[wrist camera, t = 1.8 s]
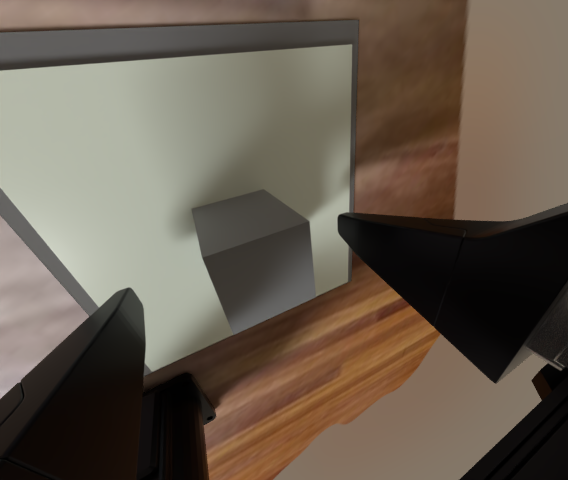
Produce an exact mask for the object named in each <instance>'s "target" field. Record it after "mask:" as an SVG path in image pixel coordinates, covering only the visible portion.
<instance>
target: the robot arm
mask: <svg viewBox="0 0 568 480" xmlns="http://www.w3.org/2000/svg"><path fill="white" fill-rule="evenodd" d="M337 225H338V233H339V235H340V236H341V237H342V239H343V240H344V241H345V242H346V243H347V244H348V245H349V247H350V248H351V249H352V250H353V251H354V252H355V253H356V255H357V256H358V257H359V258H360V259H361V260H363V261H364V262H365V263H366V264H367V265H368V266H369V267H370V268H371V269H372V270H373V271H374V272H375V273H377V274H378V275H379V276H380V277H381V278H382V279H383V280H384V281H385V282H386V283H387V284H388V285H389V286H390V287H392V288H393V289H394V290H395V291H396V292H397V293H398V294H399V295H400V296H401V297H402V298H403V299H404V300H405V301H407V302H408V303H409V304H410V305H411V306H412V307H413V308H414V309H415V310H416V311H417V312H418V313H419V314H420V315H422V316H423V317H424V318H425V319H426V320H427V321H428V322H429V323H430V324H431V325H432V326H433V327H434V328H435V329H436V330H437V331H438V332H440V333H441V334H442V335H443V336H444V337H445V338H446V339H447V340H448V341H449V342H450V343H451V344H452V345H454V346H455V347H456V348H457V349H458V350H459V351H460V352H461V353H462V354H463V355H464V356H465V357H466V358H467V359H468V360H470V361H471V362H472V363H473V364H474V365H475V366H476V367H477V368H478V369H479V370H480V371H481V372H482V373H484V374H485V375H486V376H487V377H488V378H489V379H490V380H491V381H493V382H494V383H498V382H499V381H500V380H501V379H503V378H504V377H505V376H506V375H507V374H509V373H510V372H511V371H512V370H513V369H515V368H516V367H517V366H518V365H520V364H521V363H522V362H523V361H524V360H525V359H527V358H528V357H529V356H530V355H532V354H535V355H536V356H538V357H539V358H541V359H543V360H544V361H546V362H547V363H548V364H547V365H545V366H544V367H543V368H542V369H541V370H540V371H539V372H538V373H537V374H536V376H535V377H534V378H533V379H532V382H533V384H534V386H535V388H536V390H537V392H538V394H539V396H540V398H541V399H542V401H541V402H540V403H539V404H538V405H537V406H536V407H535V408H534V409H533V410H532V411H531V412H530V413H529V414H528V415H527V416H525V418H523V419H522V421H520V422H519V423H518V424H517V425H516V426H515V427H514V428H513V429H512V430H511V431H510V432H509V433H508V434H507V435H506V436H505V437H504V438H502V439H501V440H500V441H499V442H498V443H497V444H496V445H495V446H494V447H493V448H492V449H491V450H490V451H489V452H488V453H487V454H486V455H485V456H484V457H483V458H482V459H481V460H479V461H478V462H477V463H476V464H475V465H474V466H473V467H472V468H471V469H470V470H469V471H468V472H467V473H466V474H465V475H464V476H463V477H462V478H461V479H460V480H568V203H567V204H564V205H560V206H558V207H555V208H552V209H549V210H546V211H543V212H540V213H537V214H535V215H532V216H529V217H526V218H523V219H519V220H513V221H503V222H502V221H471V220H447V219H432V218H418V217H404V216H391V215H377V214H363V213H350V212H345V213H342V214H339V215H338V218H337ZM145 352H146V336H145V321H144V308H143V304H142V302H141V301H140V299H139V298H138V296H137V295H136V293H135V292H134V290H133V289H132V288H130V287H128V288H125V289H122V290H119V291H117V292H116V293H114V294H113V295H112V296H111V297H110V298H109V299H108V300H107V301H106V302H105V303H104V304H103V305H102V306H100V307H99V308H98V309H97V310H96V311H95V312H94V313H93V314H92V315H91V316H90V317H89V318H87V319H86V320H85V321H84V322H83V323H82V324H81V325H80V326H79V327H78V328H77V329H76V330H75V331H73V332H72V333H71V334H70V335H69V336H68V337H67V338H66V339H65V340H64V341H63V342H62V343H60V344H59V345H58V346H57V347H56V348H55V349H54V350H53V351H52V352H51V353H50V354H49V355H48V356H46V357H45V358H44V359H43V360H42V361H41V362H40V363H39V364H38V365H37V366H36V367H35V368H33V369H32V370H31V371H30V372H29V373H28V374H27V375H26V376H25V377H24V378H23V379H22V380H21V382H20V383H17V384H16V385H15V386H14V387H13V388H12V389H11V390H10V391H9V392H7V393H6V394H5V395H4V396H3V397H2V398H1V399H0V480H209V474H208V464H207V454H206V444H205V434H204V425H205V424H207V423H209V422H211V421H212V420H214V419H215V418H216V412H215V409H214V407H213V406H212V404H211V403H210V401H209V400H208V398H207V397H206V395H205V394H204V392H203V391H202V389H201V388H200V386H199V385H198V383H197V382H196V380H195V379H194V377H193V375H191V374H189V373H188V374H183V375H181V376H179V377H177V378H175V379H173V380H171V381H169V382H166V383H164V384H162V385H160V386H158V387H156V388H154V389H152V390H150V391H148V392H146V393H144V394H142V392H143V379H144V365H145Z"/></svg>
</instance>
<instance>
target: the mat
mask: <svg viewBox="0 0 568 480" xmlns="http://www.w3.org/2000/svg"><path fill="white" fill-rule="evenodd" d="M358 31H359V20H342V21H314V22H285V23H257V24H229V25H201V26H173V27H144V28H116V29H88V30H60V31H31V32H3V33H0V71H2V70H16V69H29V68H43V67H56V66H69V65H83V64H96V63H109V62H123V61H136V60H149V59H163V58H176V57H189V56H203V55H216V54H229V53H243V52H256V51H270V50H283V49H296V48H310V47H323V46H336V45H350V44H352V83H351V139H350V195H349V212H350V213H353V207H354V172H355V136H356V101H357V66H358ZM0 215H1V217H2V218H3V219H4V220H5V221H6V222H7V223H8V225H9V226H10V227H11V228H12V229H13V230H14V231H15V232H16V234H17V235H18V236H19V237H20V238H21V239H22V240H23V242H24V243H25V244H26V245H27V246H28V247H29V248H30V249H31V251H32V252H33V253H34V254H35V255H36V256H37V257H38V259H39V260H40V261H41V262H42V263H43V264H44V265H45V266H46V268H47V269H48V270H49V271H50V272H51V273H52V274H53V276H54V277H55V278H56V279H57V280H58V281H59V282H60V283H61V285H62V286H63V287H64V288H65V289H66V290H67V291H68V293H69V294H70V295H71V296H72V297H73V298H74V299H75V300H76V302H77V303H78V304H79V305H80V306H81V307H82V308H83V310H84V311H85V312H86V313H87V314H88V315H89V316H91V315H92V314H93V313H94V312H95V311H96V310H97V309H98V308H99V307H98V306H97V305H96V303H95V302H94V301H93V300H92V298H91V297H90V296H89V295H88V294H87V292H86V291H85V290H84V289H83V288H82V286H81V285H80V284H79V283H78V281H77V280H76V279H75V278H74V277H73V275H72V274H71V273H70V272H69V271H68V269H67V268H66V267H65V266H64V264H63V263H62V262H61V261H60V260H59V258H58V257H57V256H56V255H55V254H54V252H53V251H52V250H51V249H50V247H49V246H48V245H47V244H46V243H45V241H44V240H43V239H42V238H41V237H40V235H39V234H38V233H37V232H36V230H35V229H34V228H33V227H32V226H31V224H30V223H29V222H28V221H27V220H26V218H25V217H24V216H23V215H22V213H21V212H20V211H19V210H18V209H17V207H16V206H15V205H14V204H13V203H12V201H11V200H10V199H9V198H8V196H7V195H6V194H5V193H4V192H3V190H2V189H1V188H0ZM351 277H352V249H351V248H350V247H349V251H348V282H350V281H351ZM348 282H347V283H348ZM344 284H346V283H344ZM342 285H343V284H342ZM340 286H341V285H340ZM338 287H339V286H338ZM336 288H337V287H336ZM334 289H335V288H334ZM331 290H333V289H331ZM329 291H330V290H329ZM327 292H328V291H327ZM325 293H326V292H325ZM323 294H324V293H323ZM320 295H322V294H320ZM320 295H318V296H320ZM316 297H317V296H316ZM231 336H233V335H231ZM229 337H230V336H229ZM227 338H228V337H227ZM225 339H226V338H225ZM223 340H224V339H223ZM220 341H222V340H220ZM220 341H218V342H220ZM216 343H217V342H216ZM214 344H215V343H214ZM212 345H213V344H212ZM209 346H211V345H209ZM209 346H207V347H209ZM207 347H205V348H207ZM203 349H204V348H203ZM201 350H202V349H201ZM199 351H200V350H199ZM196 352H198V351H196ZM196 352H194V353H196ZM194 353H192V354H194ZM190 355H191V354H190ZM188 356H189V355H188ZM186 357H187V356H186ZM183 358H185V357H183ZM183 358H181V359H183ZM181 359H179V360H181ZM177 361H178V360H177ZM175 362H176V361H175ZM173 363H174V362H173ZM170 364H172V363H170ZM170 364H168V365H170ZM168 365H166V366H168ZM164 367H165V366H164ZM162 368H163V367H162ZM159 369H161V368H159ZM159 369H157V370H159ZM157 370H155V371H157ZM153 372H154V371H153ZM150 373H152V371H151V370H150V369H149V368H148V366H147V365H146V364H145V365H144V376H146V375H148V374H150Z"/></svg>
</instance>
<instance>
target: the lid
mask: <svg viewBox="0 0 568 480" xmlns="http://www.w3.org/2000/svg"><path fill="white" fill-rule="evenodd" d="M351 83H352V44H350V45H336V46H323V47H310V48H296V49H283V50H270V51H256V52H243V53H229V54H216V55H203V56H189V57H176V58H163V59H149V60H136V61H123V62H109V63H96V64H83V65H69V66H56V67H43V68H29V69H16V70H2V71H0V188H1V189H2V190H3V192H4V193H5V194H6V195H7V196H8V198H9V199H10V200H11V201H12V203H13V204H14V205H15V206H16V207H17V209H18V210H19V211H20V212H21V213H22V215H23V216H24V217H25V218H26V220H27V221H28V222H29V223H30V224H31V226H32V227H33V228H34V229H35V230H36V232H37V233H38V234H39V235H40V237H41V238H42V239H43V240H44V241H45V243H46V244H47V245H48V246H49V247H50V249H51V250H52V251H53V252H54V254H55V255H56V256H57V257H58V258H59V260H60V261H61V262H62V263H63V264H64V266H65V267H66V268H67V269H68V271H69V272H70V273H71V274H72V275H73V277H74V278H75V279H76V280H77V281H78V283H79V284H80V285H81V286H82V288H83V289H84V290H85V291H86V292H87V294H88V295H89V296H90V297H91V298H92V300H93V301H94V302H95V303H96V305H97V306H98V307H100V306H102V305H103V304H104V303H105V302H106V301H107V300H108V299H109V298H110V297H111V296H112V295H113V294H114V293H116V292H117V291H119V290H122V289H125V288H128V287H130V288H132V289H133V290H134V292H135V293H136V295H137V296H138V298H139V299H140V301H141V302H142V304H143V308H144V321H145V336H146V352H145V364H146V365H147V366H148V368H149V369H150V370H151V371H152V372H153V371H155V370H157V369H159V368H162V367H164V366H166V365H168V364H170V363H173V362H175V361H177V360H179V359H181V358H183V357H186V356H188V355H190V354H192V353H194V352H196V351H199V350H201V349H203V348H205V347H207V346H209V345H212V344H214V343H216V342H218V341H220V340H223V339H225V338H227V337H229V336H231V335H235V334H237V333H239V332H241V331H244V330H246V329H248V328H250V327H252V326H255V325H257V324H259V323H261V322H263V321H265V320H268V319H270V318H272V317H274V316H276V315H278V314H281V313H283V312H285V311H287V310H289V309H291V308H294V307H296V306H298V305H300V304H302V303H304V302H307V301H309V300H311V299H313V298H315V297H316V296H318V295H320V294H323V293H325V292H327V291H329V290H331V289H334V288H336V287H338V286H340V285H342V284H344V283H347V282H348V251H349V245H348V244H347V243H346V242H345V241H344V240H343V239H342V237H341V236H340V235H339V233H338V225H337V218H338V215H339V214H342V213H345V212H349V195H350V139H351Z"/></svg>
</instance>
